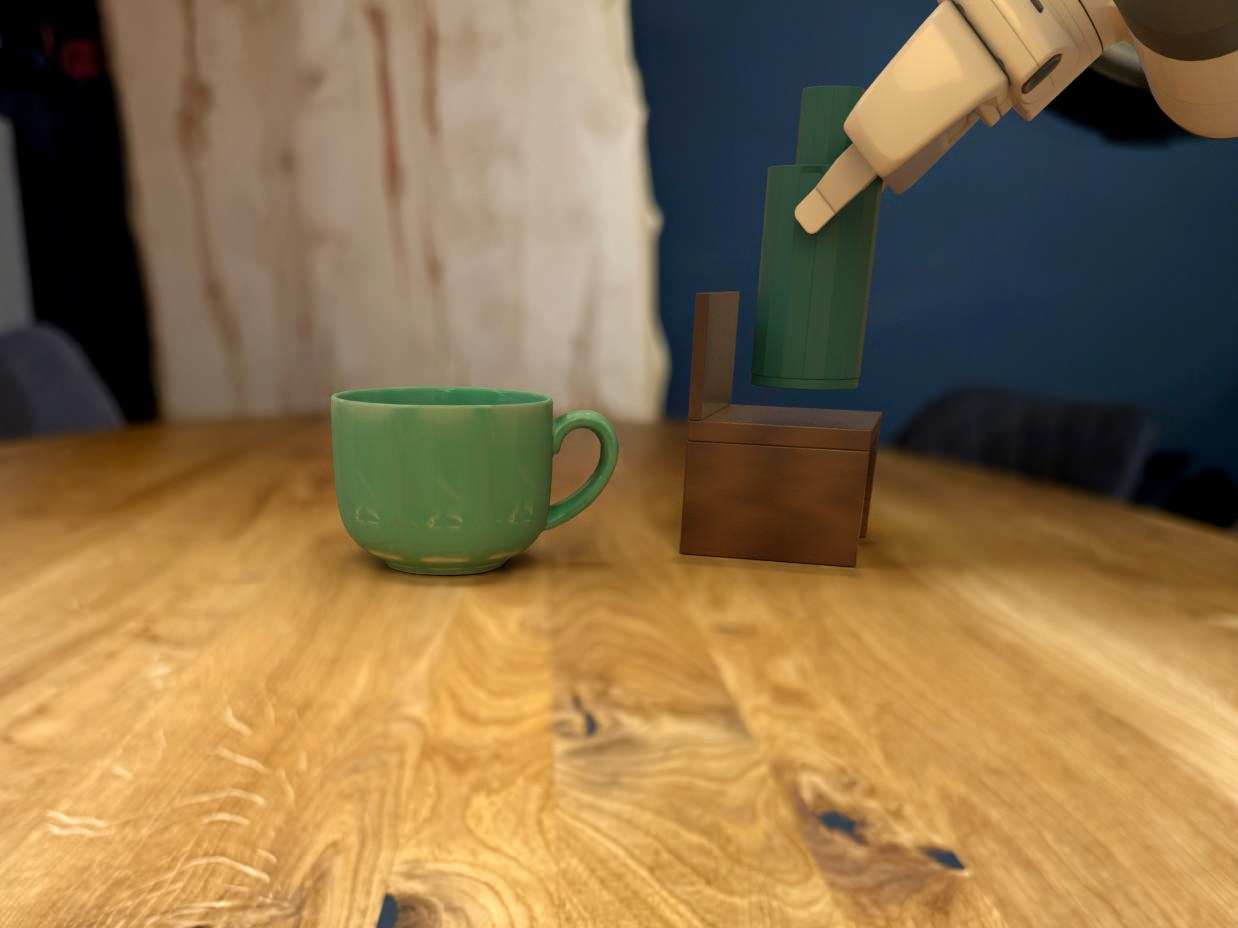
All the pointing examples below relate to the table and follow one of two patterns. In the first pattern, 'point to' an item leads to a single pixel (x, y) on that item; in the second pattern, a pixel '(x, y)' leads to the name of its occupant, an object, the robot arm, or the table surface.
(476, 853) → the table surface
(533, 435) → the mug
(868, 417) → the wooden toy chair
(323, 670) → the table surface
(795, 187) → the bottle
